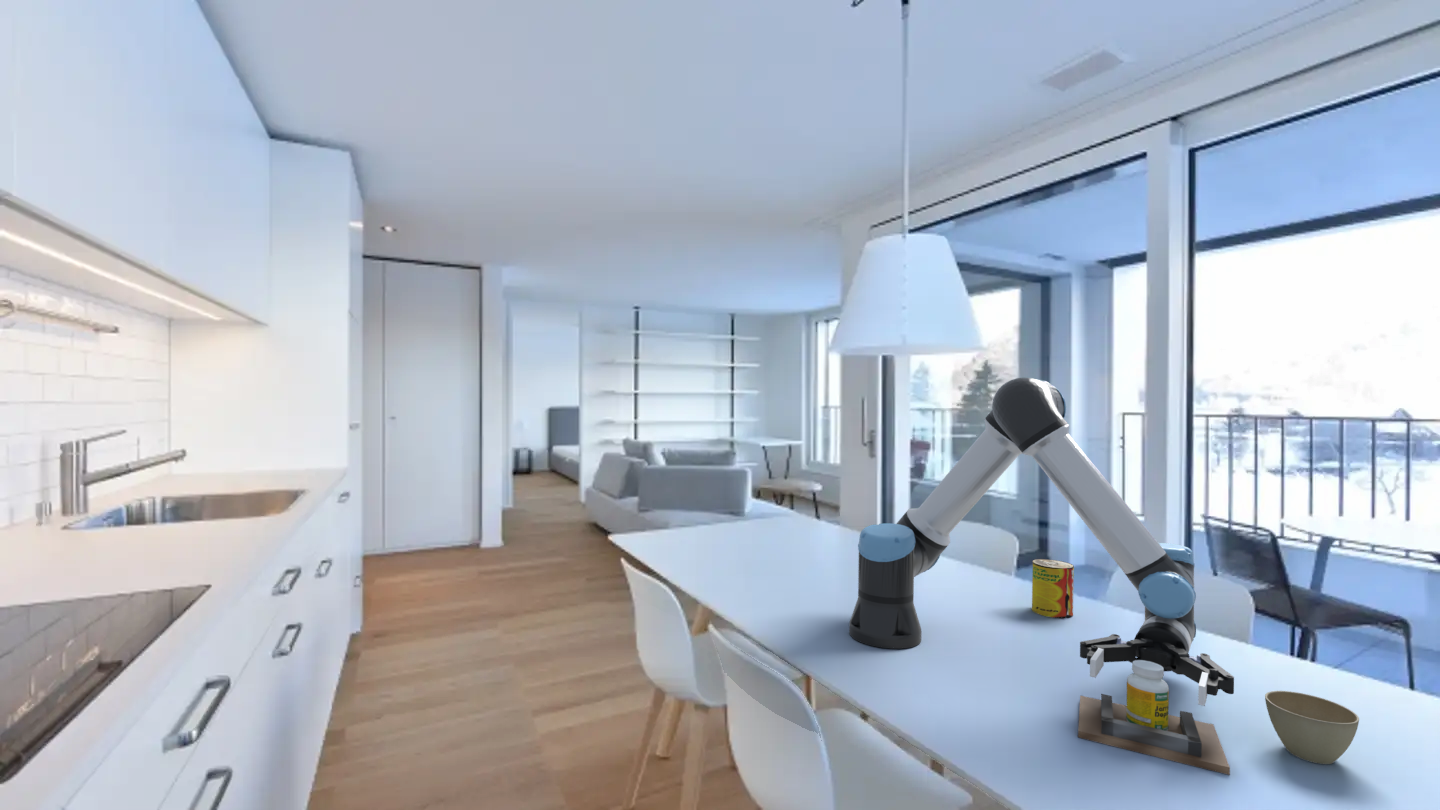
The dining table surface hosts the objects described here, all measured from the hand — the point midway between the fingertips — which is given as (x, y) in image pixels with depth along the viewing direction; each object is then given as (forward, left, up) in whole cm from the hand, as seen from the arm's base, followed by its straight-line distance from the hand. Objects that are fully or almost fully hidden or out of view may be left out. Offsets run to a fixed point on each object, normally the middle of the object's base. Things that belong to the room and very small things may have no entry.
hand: (1144, 681), depth 94 cm
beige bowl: (+21, +9, -9) cm, 24 cm away
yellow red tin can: (-15, +62, -9) cm, 65 cm away
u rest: (+1, +3, -9) cm, 10 cm away
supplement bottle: (+1, +3, -8) cm, 9 cm away
